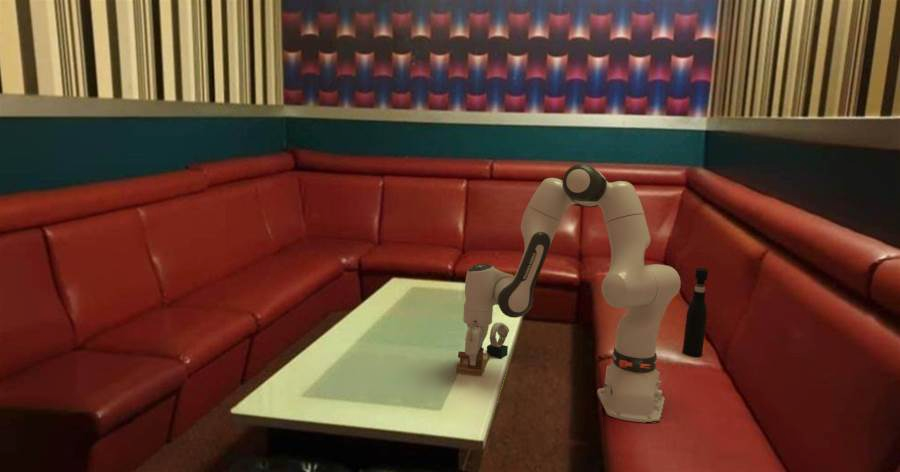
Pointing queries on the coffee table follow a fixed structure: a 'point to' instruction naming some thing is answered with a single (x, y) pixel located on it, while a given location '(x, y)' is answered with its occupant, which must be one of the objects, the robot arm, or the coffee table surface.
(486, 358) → the board
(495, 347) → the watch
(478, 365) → the brown stepped block
